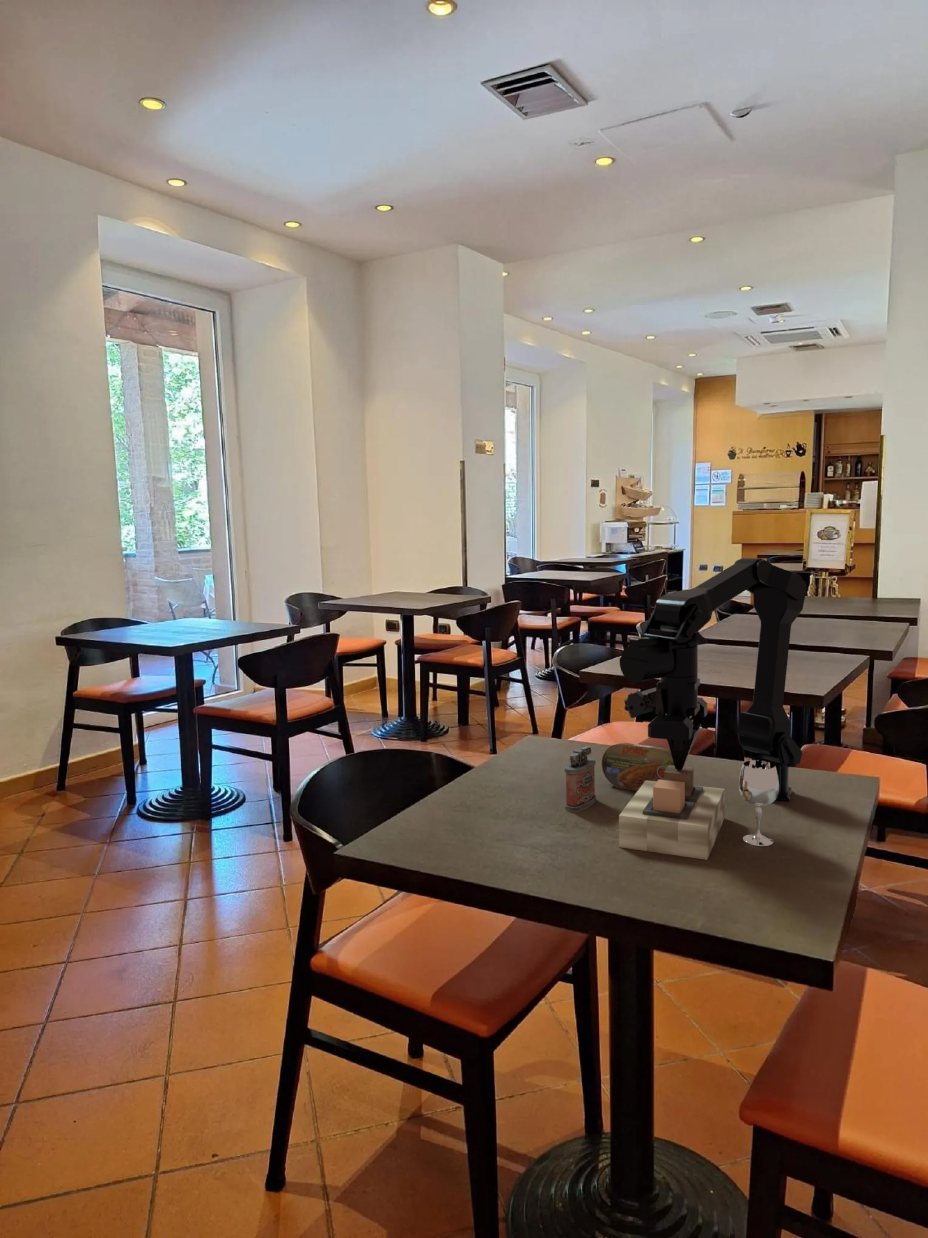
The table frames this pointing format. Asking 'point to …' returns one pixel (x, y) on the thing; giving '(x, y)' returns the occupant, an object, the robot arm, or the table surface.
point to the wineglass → (758, 793)
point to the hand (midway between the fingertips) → (679, 769)
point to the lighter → (580, 780)
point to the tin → (635, 764)
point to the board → (673, 823)
